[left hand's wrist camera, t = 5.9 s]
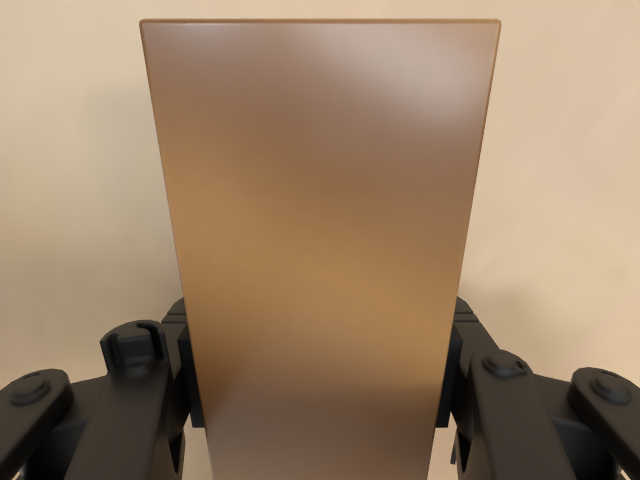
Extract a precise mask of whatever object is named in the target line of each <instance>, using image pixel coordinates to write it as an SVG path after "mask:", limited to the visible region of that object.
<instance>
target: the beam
mask: <svg viewBox="0 0 640 480" xmlns="http://www.w3.org/2000/svg"><path fill="white" fill-rule="evenodd" d="M139 27H140V33H141V39H142V45H143V51H144V57H145V63H146V70H147V76H148V82H149V88H150V94H151V100H152V106H153V113H154V119H155V125H156V131H157V137H158V143H159V149H160V155H161V162H162V168H163V174H164V180H165V186H166V192H167V198H168V205H169V211H170V217H171V223H172V229H173V235H174V241H175V248H176V254H177V260H178V266H179V272H180V278H181V284H182V290H183V297H184V303H185V309H186V315H187V321H188V327H189V333H190V340H191V346H192V352H193V358H194V364H195V370H196V376H197V383H198V389H199V395H200V401H201V407H202V413H203V419H204V425H205V432H206V438H207V444H208V450H209V456H210V462H211V468H212V475H213V480H427V476H428V470H429V464H430V458H431V452H432V446H433V439H434V433H435V427H436V421H437V415H438V409H439V403H440V397H441V391H442V384H443V378H444V372H445V366H446V360H447V354H448V348H449V342H450V336H451V329H452V323H453V317H454V311H455V305H456V299H457V293H458V287H459V281H460V274H461V268H462V262H463V256H464V250H465V244H466V238H467V232H468V226H469V220H470V213H471V207H472V201H473V195H474V189H475V183H476V177H477V171H478V165H479V158H480V152H481V146H482V140H483V134H484V128H485V122H486V116H487V110H488V103H489V97H490V91H491V85H492V79H493V73H494V67H495V61H496V55H497V48H498V42H499V36H500V30H501V21H500V20H498V19H143V20H141V21H140V22H139Z"/></svg>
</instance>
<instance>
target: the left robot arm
mask: <svg viewBox="0 0 640 480" xmlns="http://www.w3.org/2000/svg"><path fill="white" fill-rule="evenodd" d="M100 345H101V349H102V352H103V356H104V359H105V363H106V367H107V370H108V372H107V375H105V376H102V377H98V378H94V379H90V380H85V381H80V382H76V383H71V384H70V381H69V378H68V375H67V374H66V373H65V372H64V371H63V370H58V369H46V370H39V371H36V372H33V373H29V374H27V375H24V376H23V377H21V378H19V379H17V380H15V381H13V382H11V383H10V384H8V385H7V386H6V387H4V388H3V389H2V390H0V480H12V479H13V477H14V476H15V475H16V474H17V472H18V471H19V472H20V475H19V476H18V478H17V479H16V480H182V472H183V462H184V452H185V435H184V430H183V427H184V425H185V422H186V420H187V417H188V415H189V412H190V416H191V422H192V427H193V428H205V425H204V419H203V413H202V407H201V401H200V395H199V389H198V383H197V376H196V370H195V364H194V358H193V352H192V346H191V340H190V333H189V327H188V321H187V315H186V309H185V303H184V297H183V298H181V299H180V300H178V301H177V302H176V303H174V304H173V306H172V307H171V309H170V310H169V312H168V313H167V315H166V316H165V317H164V319H163V320H162V321H161V324H160V323H159V322H157V321H152V320H137V321H133V322H129V323H125V324H123V325H121V326H118V327H116V328H114V329H113V330H111V331H110V332H108V333H107V334H105V335H104V337H103V338H102V339H101V340H100ZM450 412H451V413H452V415H453V417H454V420H455V422H456V425H457V430H456V435H455V440H454V445H453V450H452V456H451V462H450V464H455V462H456V461H457V471H458V480H626V479H625V478H624V477H623V475H622V474H621V471H622V469H623V471H624V472H625V473H626V474H627V476H628V477H629V478H630V479H631V480H640V388H639V387H637V386H636V385H635V384H633V383H632V382H631V381H629V380H627V379H625V378H623V377H621V376H619V375H618V374H616V373H613V372H610V371H607V370H603V369H598V368H591V367H586V368H580V369H578V370H576V371H575V372H574V373H573V376H572V379H571V382H567V381H562V380H558V379H553V378H548V377H544V376H540V375H537V374H533V372H532V370H531V369H530V367H529V366H528V364H527V363H526V362H525V361H523V360H522V359H521V358H519V357H518V356H516V355H514V354H512V353H510V352H508V351H505V350H501V349H499V347H498V346H497V345H496V343H495V342H494V340H493V339H492V338H491V336H490V335H489V333H488V332H487V331H486V329H485V328H484V326H483V325H482V324H481V322H479V319H478V318H477V317H476V315H475V314H473V311H472V310H471V308H470V307H469V305H468V304H467V303H466V302H465V301H464V300H462V299H461V298H459V297H458V296H457V299H456V305H455V311H454V317H453V323H452V329H451V336H450V342H449V348H448V354H447V360H446V366H445V372H444V378H443V384H442V391H441V397H440V403H439V409H438V415H437V421H436V427H435V428H448V423H449V417H450Z"/></svg>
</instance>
